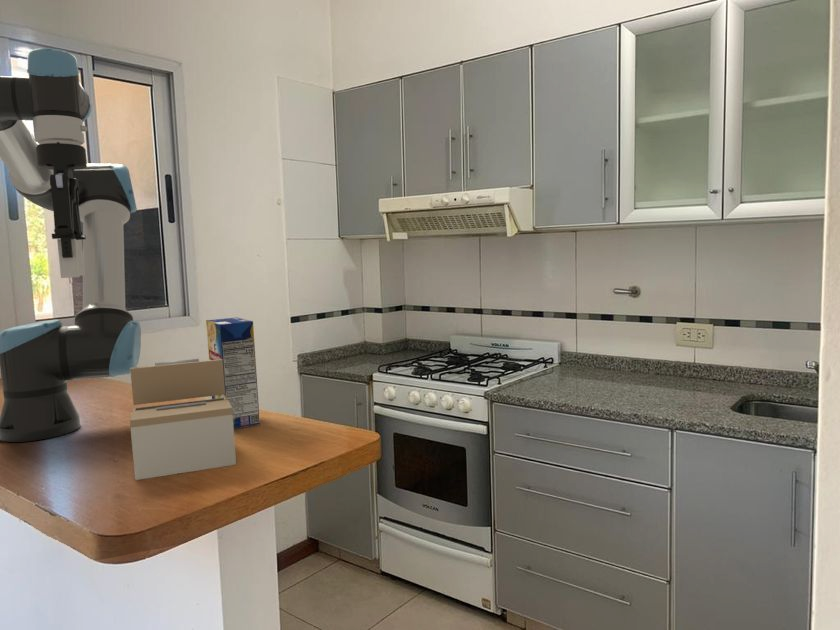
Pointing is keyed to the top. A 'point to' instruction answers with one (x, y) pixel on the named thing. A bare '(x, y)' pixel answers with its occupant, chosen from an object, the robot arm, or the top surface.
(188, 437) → the carton
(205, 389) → the rear flap
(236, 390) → the beverage box
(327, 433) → the top surface
